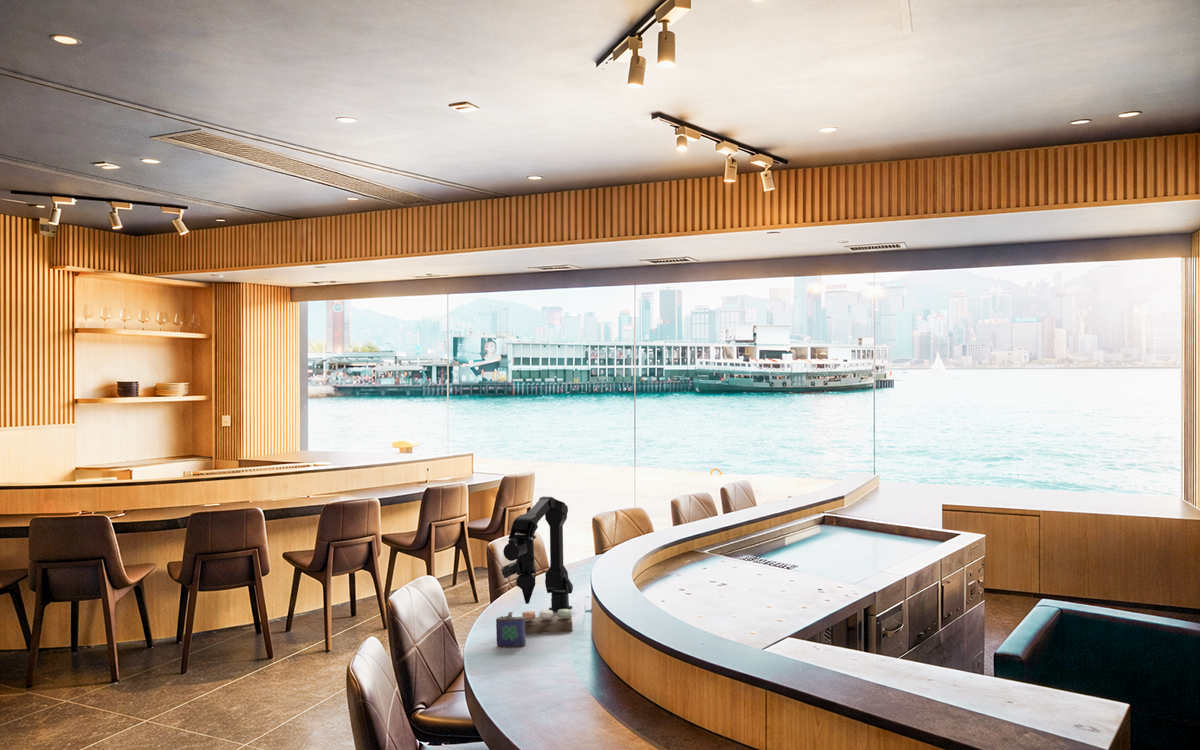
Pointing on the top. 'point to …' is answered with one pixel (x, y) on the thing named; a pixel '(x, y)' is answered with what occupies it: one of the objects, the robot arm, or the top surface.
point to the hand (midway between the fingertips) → (527, 600)
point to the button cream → (546, 614)
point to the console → (548, 624)
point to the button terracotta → (528, 615)
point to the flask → (510, 631)
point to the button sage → (564, 613)
